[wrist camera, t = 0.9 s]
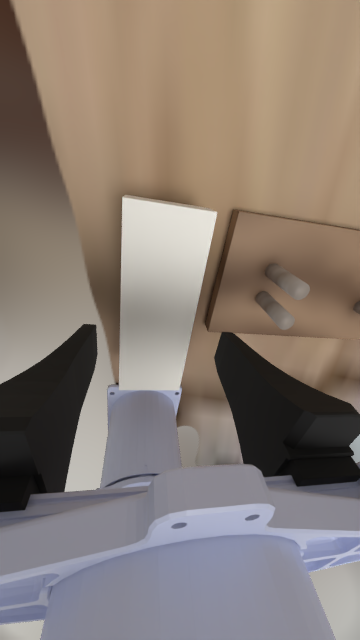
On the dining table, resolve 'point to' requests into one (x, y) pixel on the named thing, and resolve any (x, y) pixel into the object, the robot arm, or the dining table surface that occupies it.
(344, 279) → the peg stand
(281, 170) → the dining table surface
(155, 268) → the shelf board
